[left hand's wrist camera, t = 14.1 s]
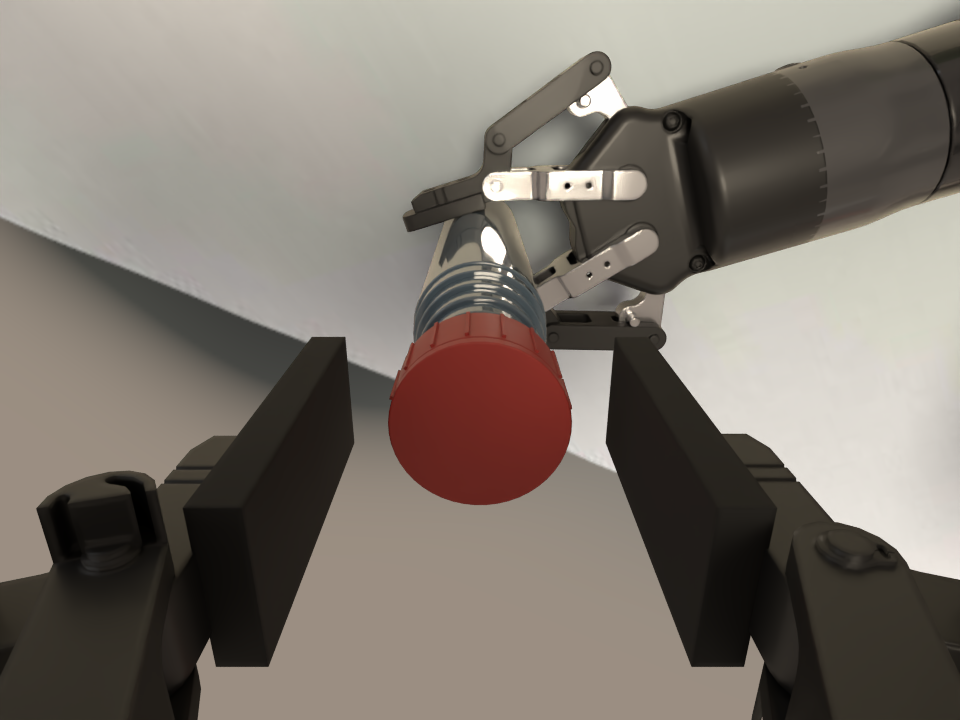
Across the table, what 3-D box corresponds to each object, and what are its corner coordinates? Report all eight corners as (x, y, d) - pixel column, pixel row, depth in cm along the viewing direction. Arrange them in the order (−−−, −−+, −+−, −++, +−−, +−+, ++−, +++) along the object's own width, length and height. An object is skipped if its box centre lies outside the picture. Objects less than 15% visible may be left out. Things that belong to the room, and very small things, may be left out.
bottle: (433, 247, 35) (357, 458, 14) (461, 179, 34) (428, 295, 12) (497, 275, 36) (524, 521, 14) (528, 211, 34) (608, 373, 13)
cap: (515, 482, 16) (520, 531, 14) (373, 422, 15) (358, 465, 13) (591, 353, 14) (608, 388, 12) (439, 282, 14) (433, 308, 12)
